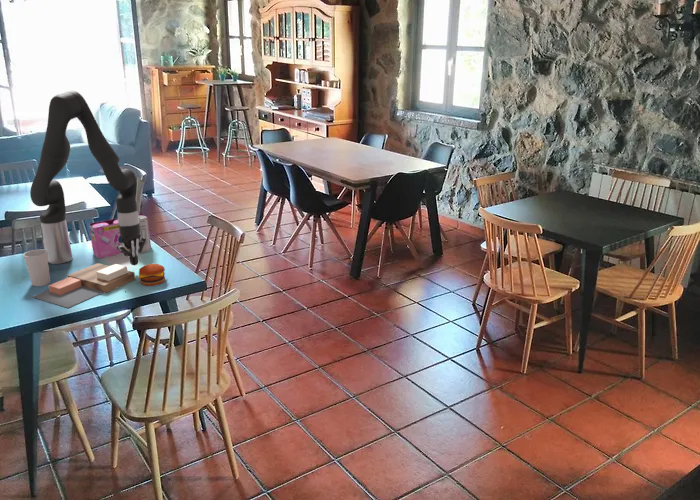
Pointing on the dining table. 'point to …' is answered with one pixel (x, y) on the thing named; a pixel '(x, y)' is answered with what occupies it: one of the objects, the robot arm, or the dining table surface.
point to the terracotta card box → (65, 285)
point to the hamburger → (152, 274)
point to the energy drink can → (144, 234)
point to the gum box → (107, 237)
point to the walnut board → (91, 280)
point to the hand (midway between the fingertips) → (134, 264)
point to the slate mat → (69, 296)
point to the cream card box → (111, 272)
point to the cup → (37, 266)
